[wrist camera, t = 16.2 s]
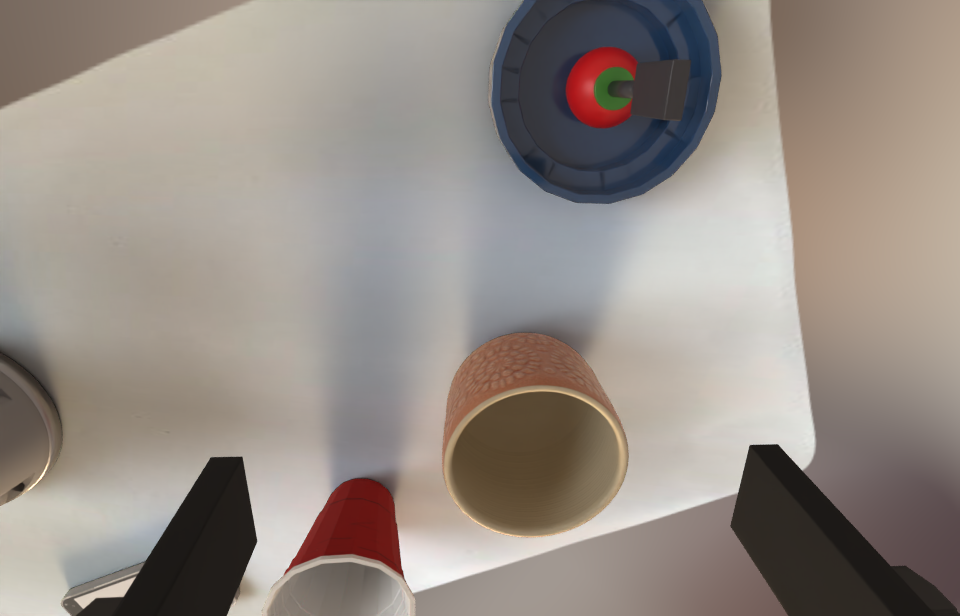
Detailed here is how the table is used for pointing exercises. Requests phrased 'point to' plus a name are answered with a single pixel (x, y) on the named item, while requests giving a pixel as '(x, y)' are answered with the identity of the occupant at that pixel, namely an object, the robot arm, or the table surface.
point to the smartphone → (104, 589)
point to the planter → (531, 438)
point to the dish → (544, 107)
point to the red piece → (625, 88)
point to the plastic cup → (347, 560)
